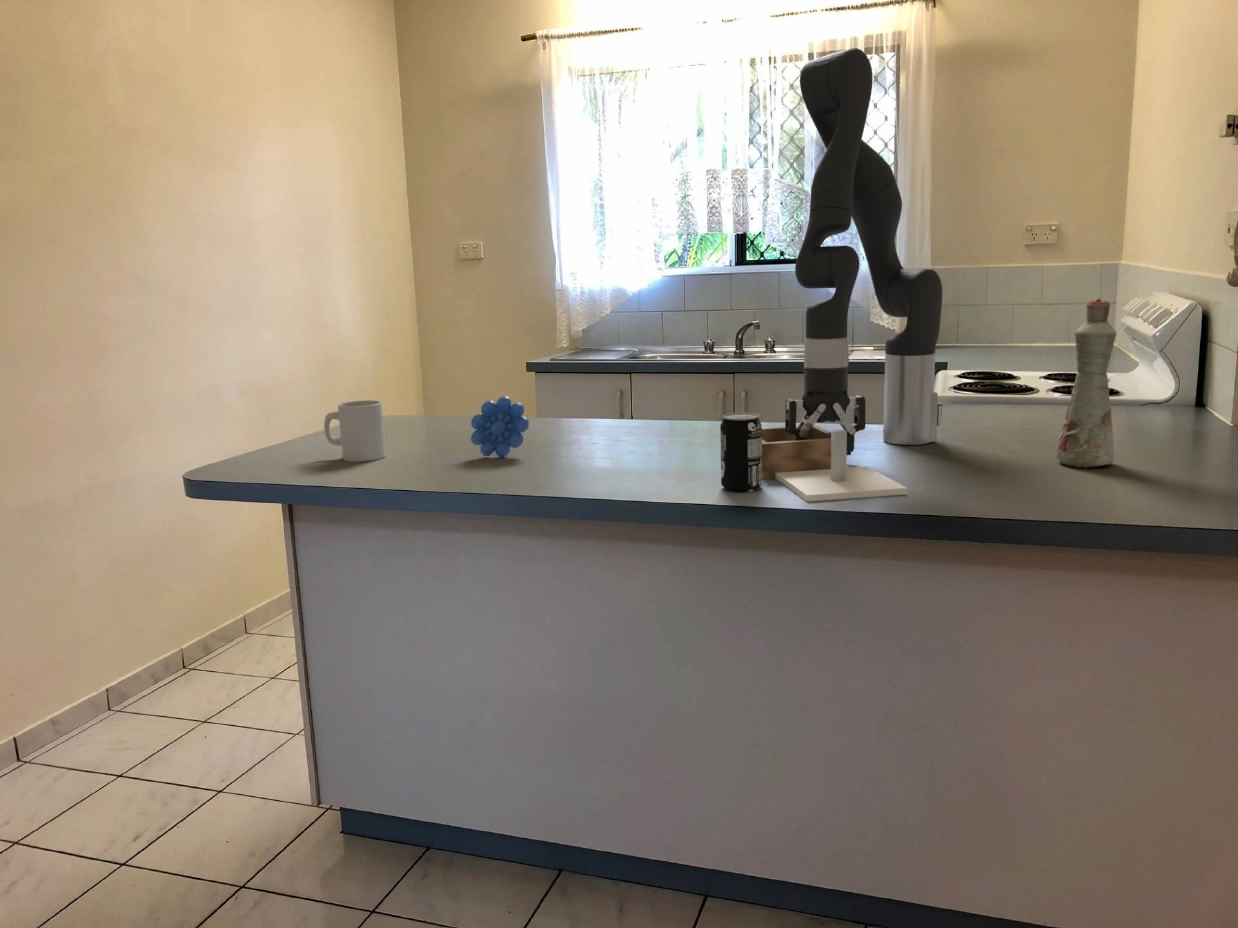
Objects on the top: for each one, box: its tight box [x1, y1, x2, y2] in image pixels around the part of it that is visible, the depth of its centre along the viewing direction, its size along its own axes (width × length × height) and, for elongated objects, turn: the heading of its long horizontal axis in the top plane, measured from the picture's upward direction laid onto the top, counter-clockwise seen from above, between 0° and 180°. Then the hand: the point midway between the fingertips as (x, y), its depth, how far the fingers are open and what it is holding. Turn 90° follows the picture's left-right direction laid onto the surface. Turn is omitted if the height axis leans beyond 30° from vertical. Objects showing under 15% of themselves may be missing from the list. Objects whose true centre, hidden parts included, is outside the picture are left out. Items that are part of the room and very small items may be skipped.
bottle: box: [1056, 298, 1117, 468], centre depth 159 cm, size 9×9×28 cm
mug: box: [323, 400, 387, 463], centre depth 190 cm, size 12×8×11 cm
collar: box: [762, 424, 831, 480], centre depth 167 cm, size 14×14×6 cm
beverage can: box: [719, 412, 763, 493], centre depth 153 cm, size 7×7×12 cm
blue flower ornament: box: [470, 395, 530, 458], centre depth 186 cm, size 12×7×12 cm, turn 86°
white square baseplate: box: [774, 429, 908, 502], centre depth 152 cm, size 16×16×9 cm
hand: (824, 455), depth 169 cm, fingers open, 7 cm apart
